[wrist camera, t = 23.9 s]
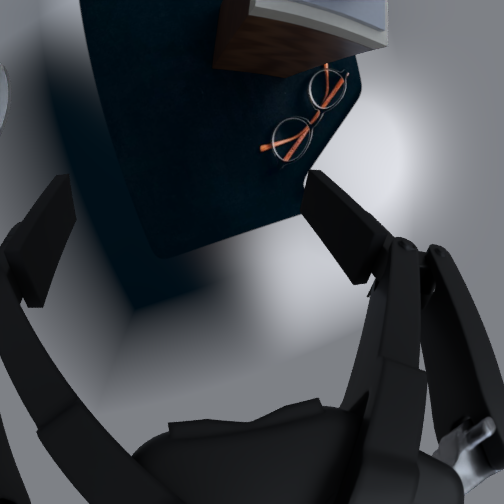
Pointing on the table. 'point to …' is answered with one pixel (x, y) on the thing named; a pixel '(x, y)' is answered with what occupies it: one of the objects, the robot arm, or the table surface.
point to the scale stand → (273, 44)
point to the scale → (332, 17)
